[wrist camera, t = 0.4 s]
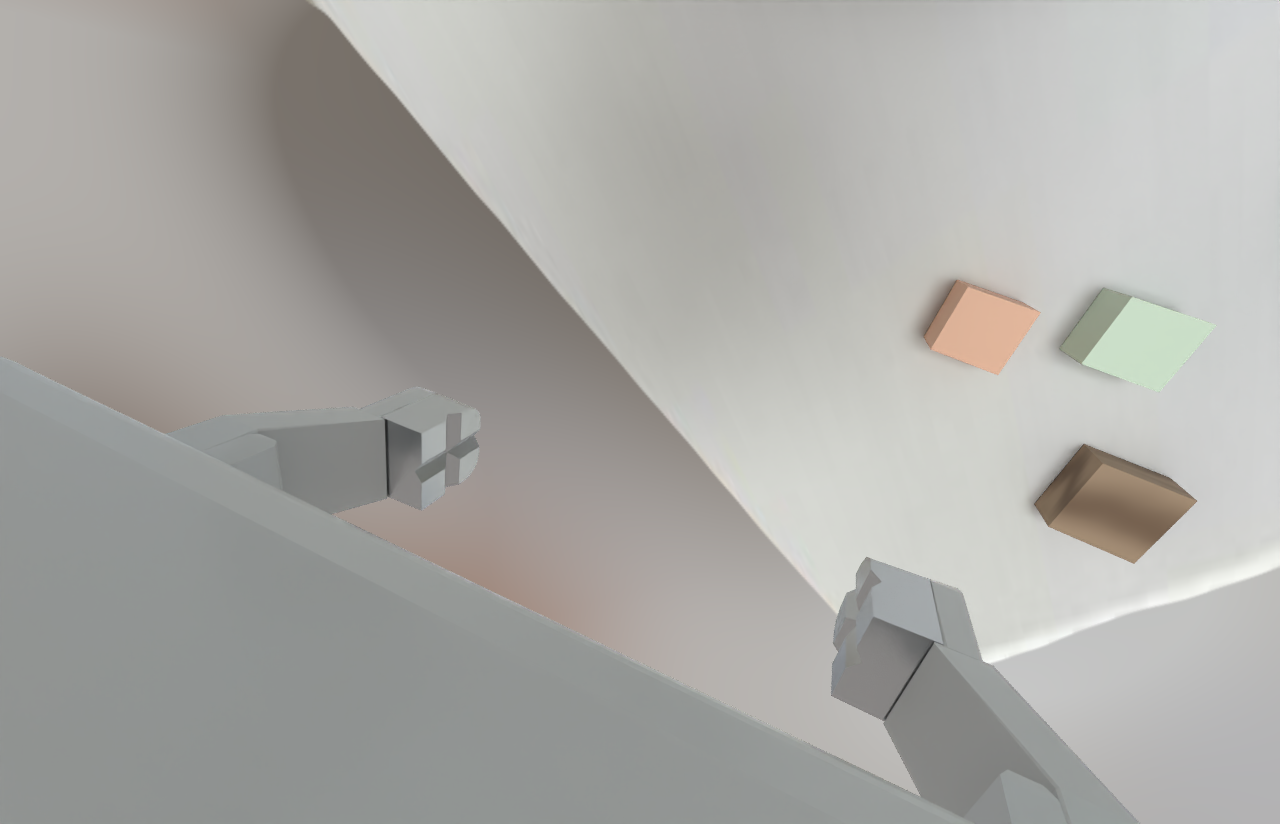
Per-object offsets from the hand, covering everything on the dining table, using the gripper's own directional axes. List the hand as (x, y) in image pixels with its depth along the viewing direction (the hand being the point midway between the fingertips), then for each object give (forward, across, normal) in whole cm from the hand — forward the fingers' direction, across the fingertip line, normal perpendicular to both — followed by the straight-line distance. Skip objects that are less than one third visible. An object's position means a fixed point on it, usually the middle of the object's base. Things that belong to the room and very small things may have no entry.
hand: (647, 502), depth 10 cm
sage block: (+45, -25, -1) cm, 51 cm away
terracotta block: (+45, -15, +1) cm, 47 cm away
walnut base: (+45, -30, +13) cm, 56 cm away
